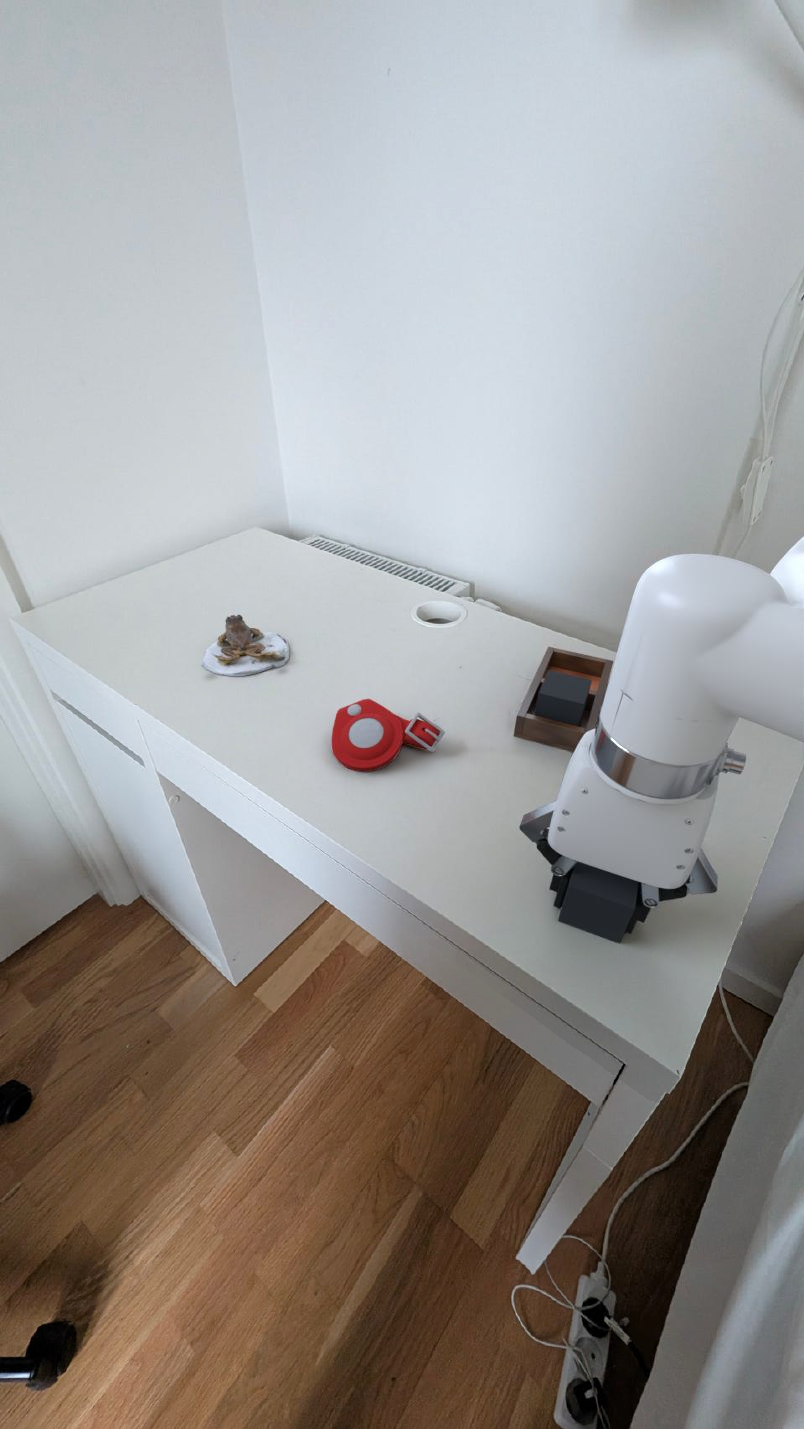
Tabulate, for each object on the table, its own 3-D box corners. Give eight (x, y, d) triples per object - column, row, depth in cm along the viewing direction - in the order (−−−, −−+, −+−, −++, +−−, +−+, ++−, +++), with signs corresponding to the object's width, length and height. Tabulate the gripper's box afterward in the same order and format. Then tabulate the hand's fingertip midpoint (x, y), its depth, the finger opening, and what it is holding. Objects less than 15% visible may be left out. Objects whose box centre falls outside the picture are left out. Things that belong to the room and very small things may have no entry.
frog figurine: (192, 643, 82) (186, 620, 80) (274, 624, 86) (270, 601, 84) (210, 686, 74) (204, 661, 72) (299, 662, 78) (296, 638, 76)
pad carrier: (608, 680, 76) (613, 660, 74) (587, 756, 64) (592, 735, 62) (544, 665, 78) (548, 646, 76) (513, 736, 67) (516, 715, 65)
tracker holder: (343, 778, 60) (314, 707, 65) (351, 796, 63) (323, 727, 69) (449, 733, 61) (412, 666, 66) (451, 753, 65) (416, 689, 70)
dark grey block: (627, 894, 50) (642, 859, 47) (619, 943, 47) (635, 908, 44) (569, 875, 52) (580, 839, 49) (557, 921, 48) (568, 885, 45)
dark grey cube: (583, 713, 69) (592, 679, 66) (575, 739, 66) (584, 704, 62) (541, 703, 71) (548, 669, 68) (532, 727, 67) (538, 692, 64)
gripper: (794, 748, 38) (702, 906, 49) (537, 685, 43) (508, 841, 55) (805, 829, 33) (699, 986, 44) (510, 747, 38) (484, 905, 49)
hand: (594, 904), depth 49 cm, fingers closed on dark grey block, 5 cm apart
